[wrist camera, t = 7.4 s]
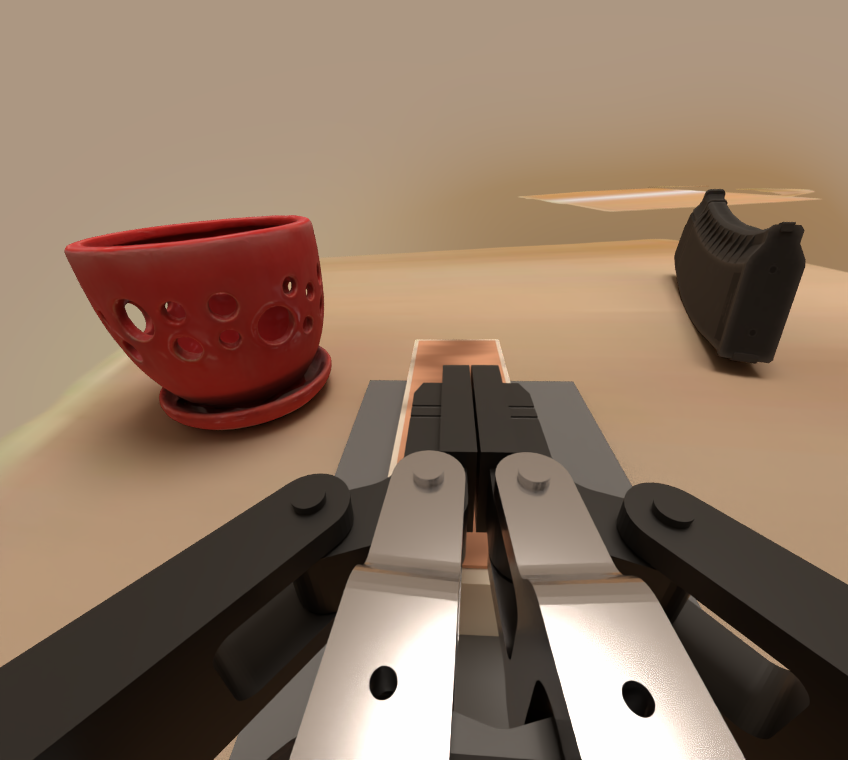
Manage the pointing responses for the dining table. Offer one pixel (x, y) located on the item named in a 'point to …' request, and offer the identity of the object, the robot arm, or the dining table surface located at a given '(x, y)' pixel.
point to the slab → (475, 578)
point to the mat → (477, 655)
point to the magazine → (738, 279)
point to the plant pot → (215, 313)
